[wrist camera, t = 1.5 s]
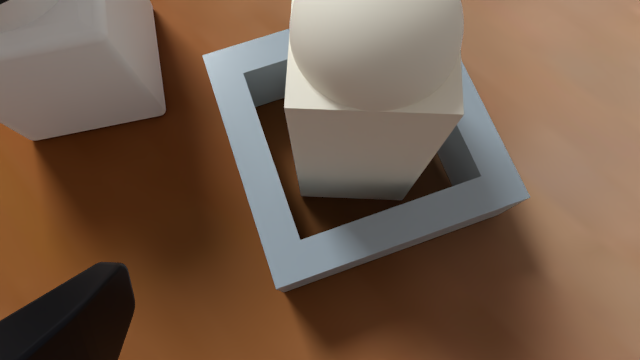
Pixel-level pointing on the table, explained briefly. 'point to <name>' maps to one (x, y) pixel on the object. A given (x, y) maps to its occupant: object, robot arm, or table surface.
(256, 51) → the blue square ring
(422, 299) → the table surface
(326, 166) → the cream egg block
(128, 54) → the medicine bottle
